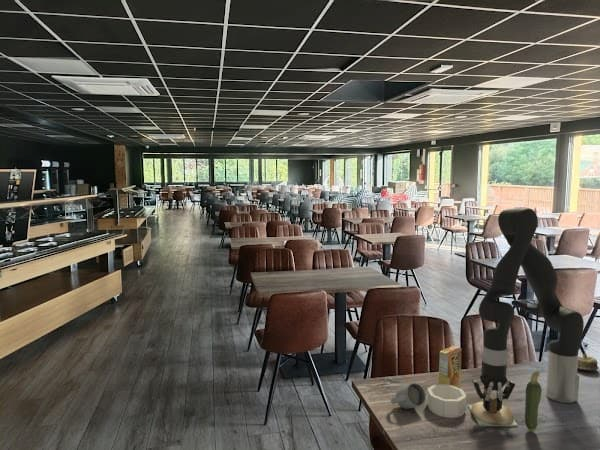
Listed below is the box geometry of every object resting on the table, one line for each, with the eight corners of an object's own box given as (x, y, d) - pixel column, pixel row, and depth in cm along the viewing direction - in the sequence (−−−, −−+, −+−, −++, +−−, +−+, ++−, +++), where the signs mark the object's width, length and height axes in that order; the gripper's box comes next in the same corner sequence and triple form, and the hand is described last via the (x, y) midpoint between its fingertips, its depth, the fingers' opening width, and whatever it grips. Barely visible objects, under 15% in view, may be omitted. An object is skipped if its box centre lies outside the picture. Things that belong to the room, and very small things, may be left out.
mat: (503, 407, 157) (503, 405, 157) (517, 426, 145) (517, 424, 145) (468, 406, 158) (468, 404, 158) (479, 425, 146) (479, 423, 146)
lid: (504, 405, 157) (505, 389, 157) (520, 425, 144) (521, 408, 144) (466, 404, 158) (466, 388, 157) (478, 424, 145) (479, 407, 145)
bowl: (458, 400, 162) (459, 384, 161) (469, 418, 150) (469, 401, 149) (424, 399, 162) (425, 383, 162) (432, 417, 151) (432, 400, 150)
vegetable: (521, 427, 145) (524, 367, 142) (533, 426, 145) (537, 366, 143) (529, 434, 140) (532, 373, 138) (542, 434, 141) (545, 372, 138)
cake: (603, 372, 185) (604, 359, 184) (578, 371, 185) (579, 359, 185) (589, 362, 194) (590, 350, 194) (565, 361, 195) (566, 349, 194)
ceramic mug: (411, 411, 158) (411, 388, 162) (426, 408, 151) (426, 385, 155) (385, 404, 155) (386, 381, 159) (399, 402, 148) (399, 378, 152)
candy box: (451, 383, 175) (452, 345, 173) (461, 387, 172) (462, 348, 170) (437, 390, 170) (438, 351, 168) (447, 394, 166) (449, 354, 165)
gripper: (511, 356, 152) (509, 404, 154) (469, 355, 153) (467, 403, 155) (521, 365, 145) (518, 416, 147) (476, 364, 146) (474, 415, 148)
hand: (492, 409), depth 151 cm, fingers closed on lid, 3 cm apart
